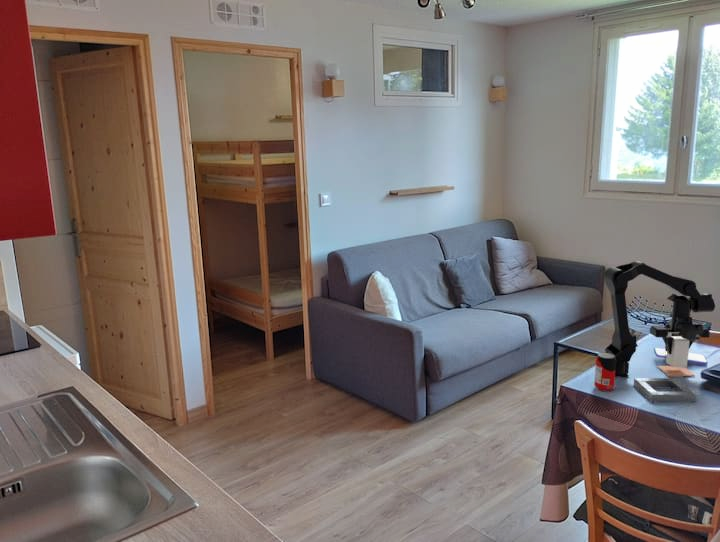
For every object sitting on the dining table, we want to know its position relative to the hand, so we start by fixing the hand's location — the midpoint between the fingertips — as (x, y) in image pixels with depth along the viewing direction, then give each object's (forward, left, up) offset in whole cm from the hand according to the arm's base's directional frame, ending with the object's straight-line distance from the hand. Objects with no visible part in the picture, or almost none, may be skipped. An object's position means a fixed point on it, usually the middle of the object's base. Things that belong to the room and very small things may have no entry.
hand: (677, 354), depth 207 cm
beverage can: (-31, -15, -7) cm, 35 cm away
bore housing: (-13, -19, -7) cm, 24 cm away
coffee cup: (+8, +18, -7) cm, 21 cm away
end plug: (0, 0, -4) cm, 4 cm away
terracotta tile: (0, 0, -7) cm, 7 cm away
